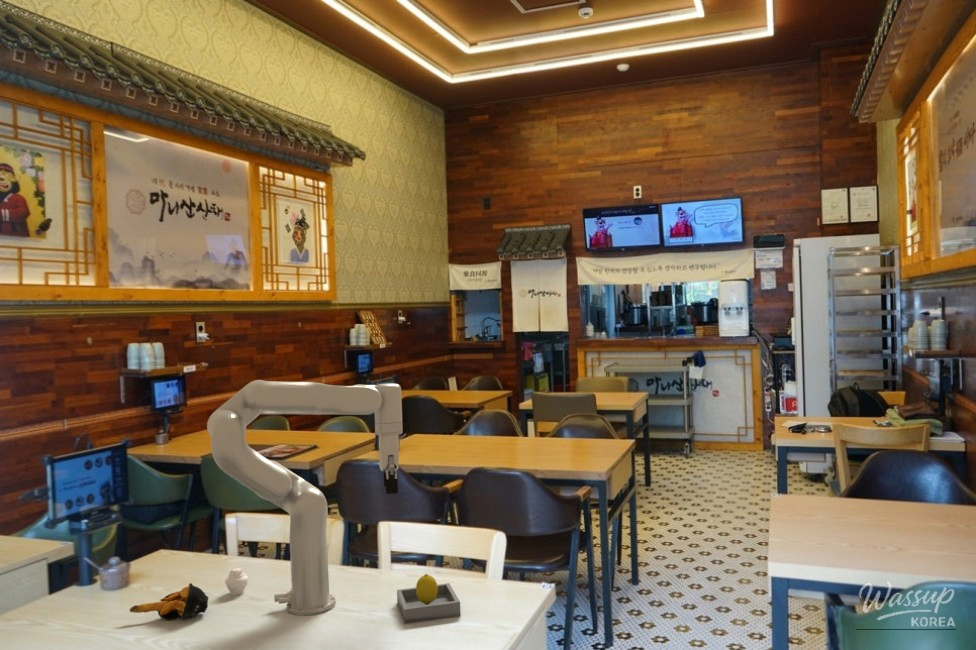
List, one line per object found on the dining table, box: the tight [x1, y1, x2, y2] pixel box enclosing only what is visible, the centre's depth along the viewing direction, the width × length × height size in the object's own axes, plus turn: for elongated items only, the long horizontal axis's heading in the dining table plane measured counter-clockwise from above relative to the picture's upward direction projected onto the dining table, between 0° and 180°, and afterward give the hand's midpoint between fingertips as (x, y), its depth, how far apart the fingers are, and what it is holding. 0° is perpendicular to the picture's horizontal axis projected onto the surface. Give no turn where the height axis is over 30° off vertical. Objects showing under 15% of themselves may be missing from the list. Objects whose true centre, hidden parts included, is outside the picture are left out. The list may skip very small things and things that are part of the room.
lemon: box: [415, 573, 438, 605], centre depth 189 cm, size 6×6×8 cm
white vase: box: [224, 567, 249, 595], centre depth 206 cm, size 6×6×7 cm
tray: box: [396, 582, 462, 625], centre depth 188 cm, size 14×14×4 cm
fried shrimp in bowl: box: [129, 582, 209, 621], centre depth 189 cm, size 9×11×18 cm
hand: (390, 489), depth 205 cm, fingers open, 9 cm apart
